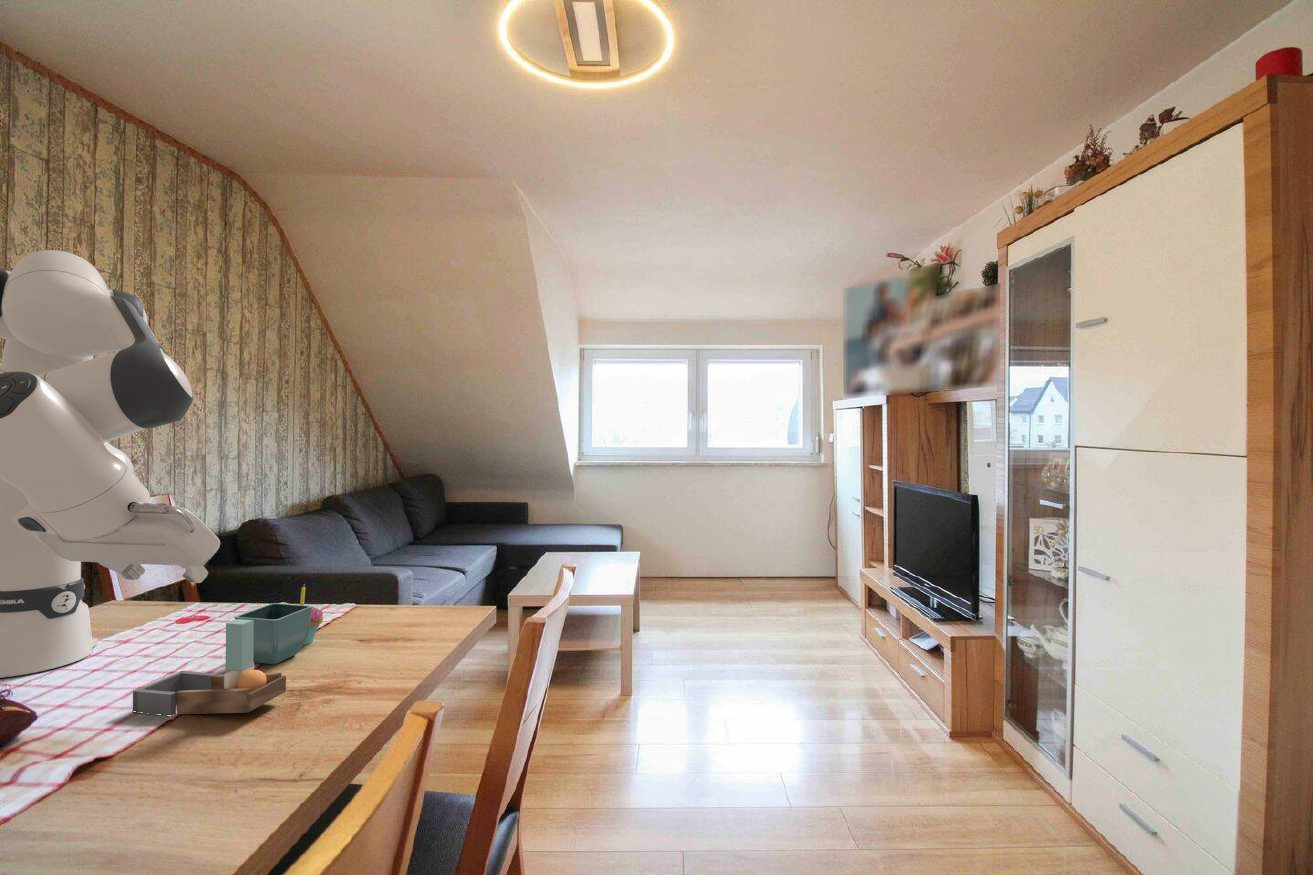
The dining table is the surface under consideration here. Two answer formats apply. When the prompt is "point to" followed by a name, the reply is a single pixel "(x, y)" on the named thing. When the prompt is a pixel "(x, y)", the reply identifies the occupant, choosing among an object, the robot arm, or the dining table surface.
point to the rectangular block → (238, 651)
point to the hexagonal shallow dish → (229, 696)
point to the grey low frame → (168, 692)
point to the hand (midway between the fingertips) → (167, 577)
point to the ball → (252, 680)
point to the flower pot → (278, 631)
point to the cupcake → (312, 619)
